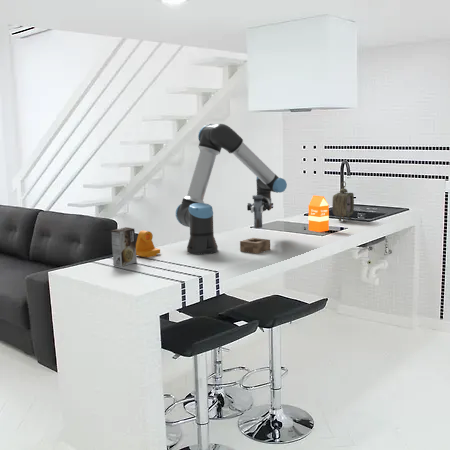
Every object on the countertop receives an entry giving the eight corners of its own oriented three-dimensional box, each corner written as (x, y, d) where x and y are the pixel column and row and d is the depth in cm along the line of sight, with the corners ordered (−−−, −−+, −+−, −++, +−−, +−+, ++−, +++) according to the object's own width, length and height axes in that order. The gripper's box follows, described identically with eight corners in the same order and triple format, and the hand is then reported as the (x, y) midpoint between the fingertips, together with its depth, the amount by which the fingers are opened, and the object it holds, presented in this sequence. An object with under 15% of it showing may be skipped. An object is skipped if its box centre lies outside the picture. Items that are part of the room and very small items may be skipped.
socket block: (257, 253, 279) (257, 243, 279) (240, 251, 286) (240, 241, 285) (270, 249, 287) (270, 239, 286) (253, 247, 294) (253, 237, 293)
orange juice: (319, 232, 331) (319, 197, 327) (308, 230, 338) (308, 195, 334) (329, 230, 335) (328, 195, 332) (318, 228, 342) (317, 194, 339)
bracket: (142, 258, 278) (141, 233, 276) (134, 256, 283) (133, 231, 281) (161, 254, 285) (160, 230, 283) (152, 252, 290) (151, 228, 288)
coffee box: (127, 261, 273) (125, 227, 270) (137, 262, 269) (135, 228, 266) (112, 264, 266) (110, 230, 263) (122, 266, 262) (119, 231, 259)
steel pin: (252, 228, 289) (251, 196, 287) (253, 226, 294) (253, 194, 292) (262, 228, 288) (262, 196, 286) (264, 226, 293) (263, 194, 291)
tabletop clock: (345, 223, 357) (345, 182, 353) (331, 222, 362) (331, 182, 358) (353, 219, 369) (353, 180, 365) (340, 218, 374) (340, 180, 370)
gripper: (278, 210, 306) (274, 217, 284) (246, 210, 309) (239, 217, 287) (277, 196, 305) (273, 202, 282) (245, 196, 308) (239, 202, 285)
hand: (256, 210), depth 285 cm, fingers closed on steel pin, 4 cm apart
